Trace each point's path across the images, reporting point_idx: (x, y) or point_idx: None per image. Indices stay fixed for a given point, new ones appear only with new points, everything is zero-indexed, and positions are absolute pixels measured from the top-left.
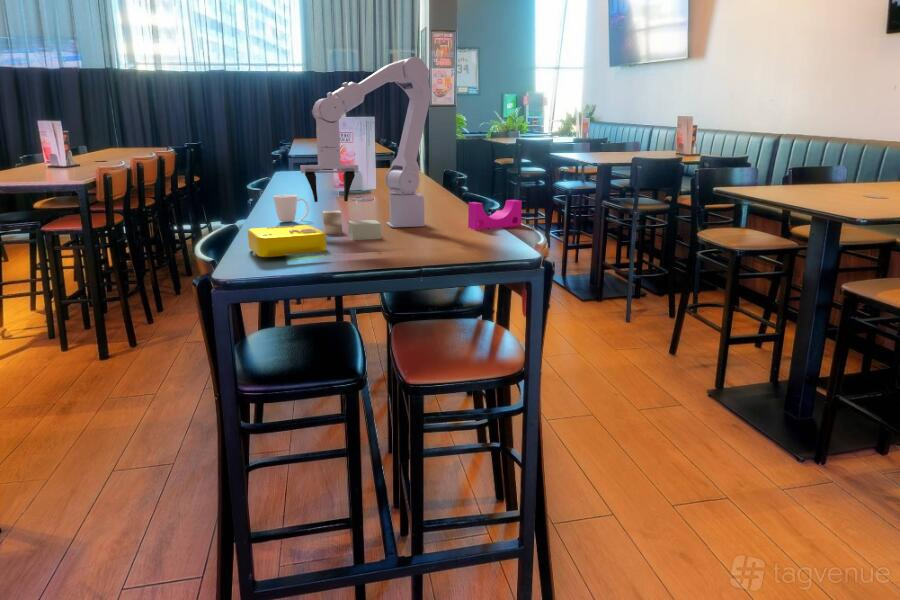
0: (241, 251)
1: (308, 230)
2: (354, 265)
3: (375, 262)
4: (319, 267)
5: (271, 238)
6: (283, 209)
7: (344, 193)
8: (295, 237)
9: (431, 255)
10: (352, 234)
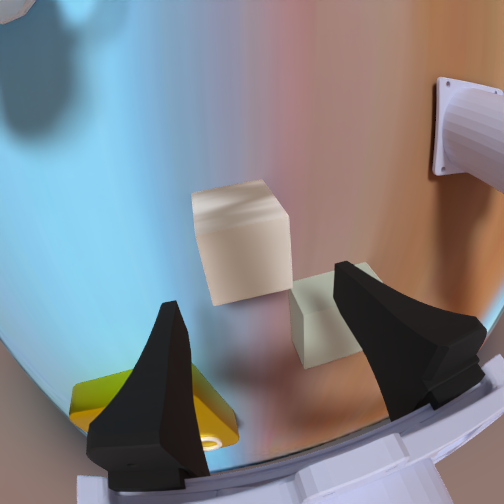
0: None
1: (205, 438)
2: (272, 450)
3: (298, 440)
4: (234, 458)
5: None
6: None
7: (354, 304)
8: None
9: (371, 406)
10: (295, 344)
